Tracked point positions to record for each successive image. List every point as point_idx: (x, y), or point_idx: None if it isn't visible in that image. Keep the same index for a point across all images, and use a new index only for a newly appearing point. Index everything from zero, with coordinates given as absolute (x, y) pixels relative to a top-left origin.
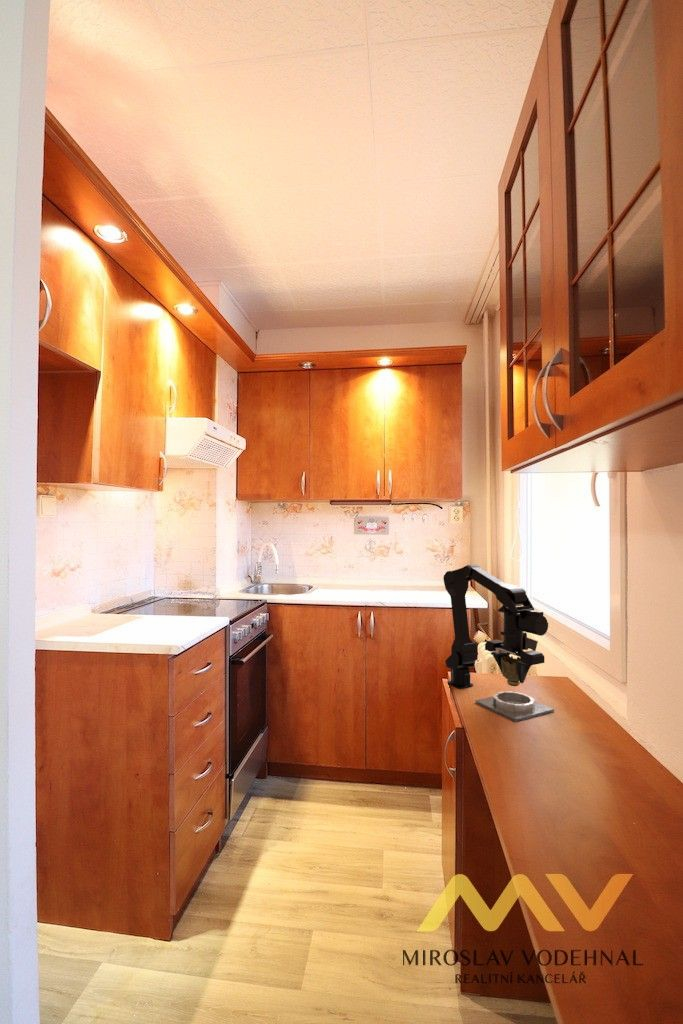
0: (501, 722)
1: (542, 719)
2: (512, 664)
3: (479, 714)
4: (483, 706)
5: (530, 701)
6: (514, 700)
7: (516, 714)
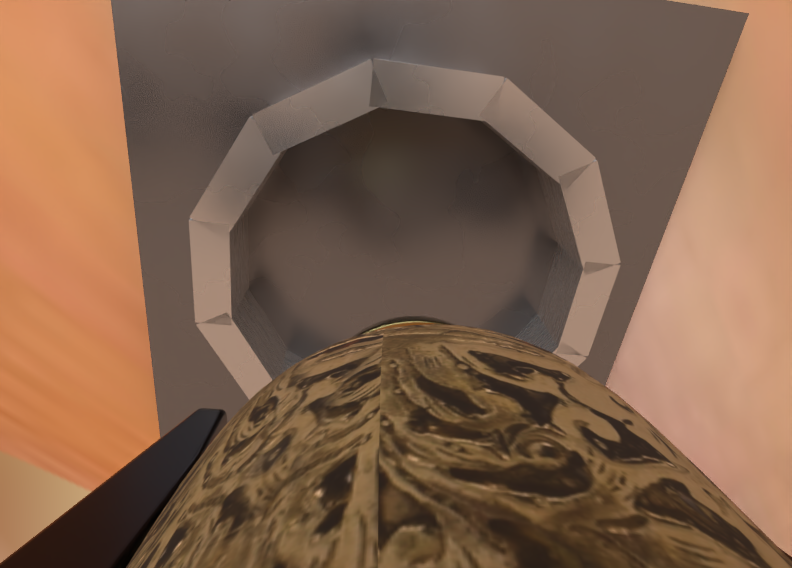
0: None
1: (693, 271)
2: (188, 552)
3: None
4: None
5: (577, 228)
6: (332, 163)
7: None
